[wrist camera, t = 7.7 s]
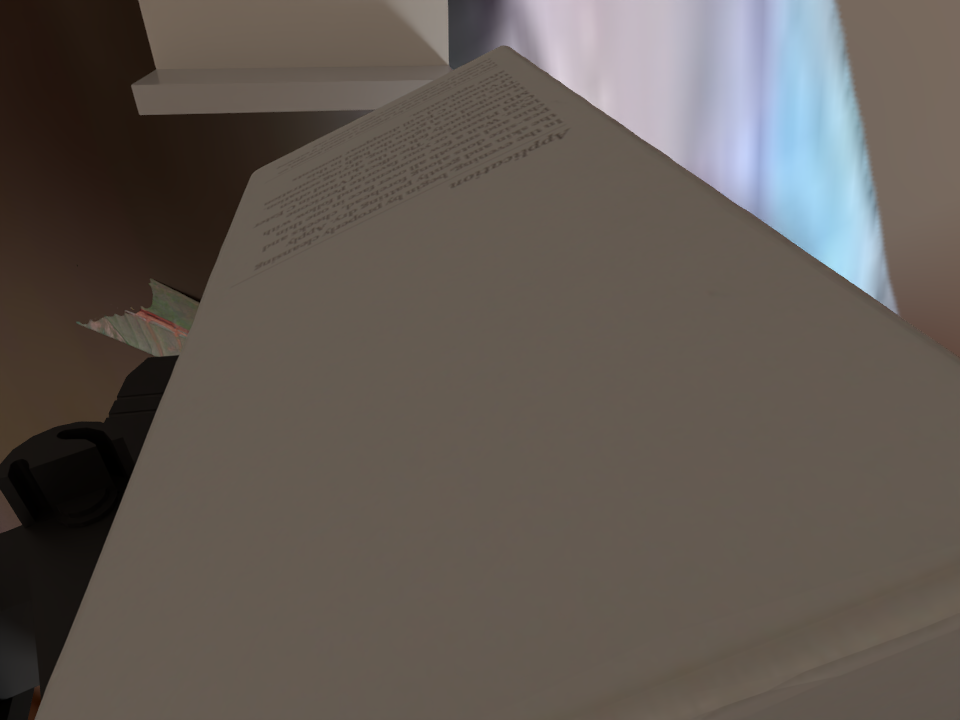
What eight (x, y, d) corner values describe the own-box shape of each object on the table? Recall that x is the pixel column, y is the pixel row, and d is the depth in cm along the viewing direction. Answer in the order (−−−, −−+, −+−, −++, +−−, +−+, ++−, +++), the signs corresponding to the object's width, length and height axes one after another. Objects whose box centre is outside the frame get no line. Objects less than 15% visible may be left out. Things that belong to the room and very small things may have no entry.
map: (212, 374, 40) (209, 382, 40) (-184, 216, 31) (-199, 222, 31) (245, 316, 38) (242, 323, 38) (-168, 130, 30) (-182, 135, 29)
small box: (610, 322, 17) (1008, 916, 7) (411, 412, 18) (500, 1085, 8) (508, 29, 13) (1284, 516, 2) (242, 165, 13) (-153, 1058, 3)
